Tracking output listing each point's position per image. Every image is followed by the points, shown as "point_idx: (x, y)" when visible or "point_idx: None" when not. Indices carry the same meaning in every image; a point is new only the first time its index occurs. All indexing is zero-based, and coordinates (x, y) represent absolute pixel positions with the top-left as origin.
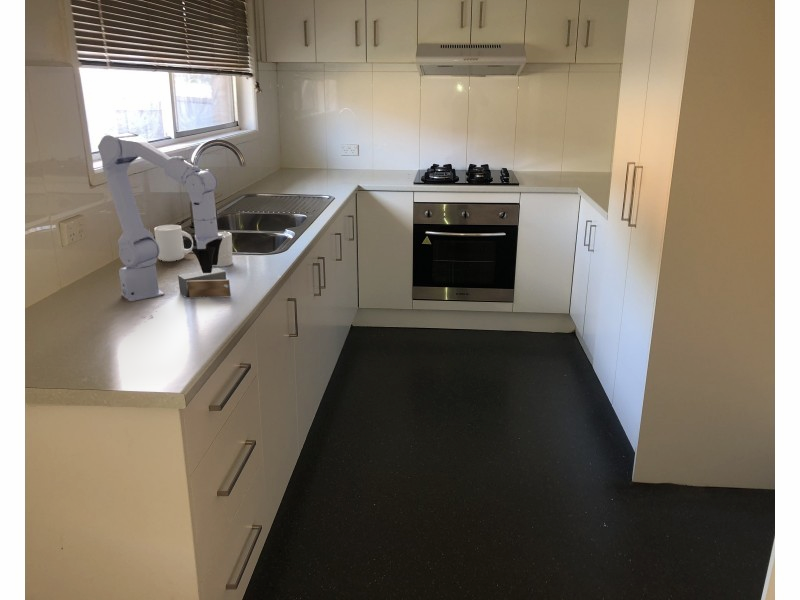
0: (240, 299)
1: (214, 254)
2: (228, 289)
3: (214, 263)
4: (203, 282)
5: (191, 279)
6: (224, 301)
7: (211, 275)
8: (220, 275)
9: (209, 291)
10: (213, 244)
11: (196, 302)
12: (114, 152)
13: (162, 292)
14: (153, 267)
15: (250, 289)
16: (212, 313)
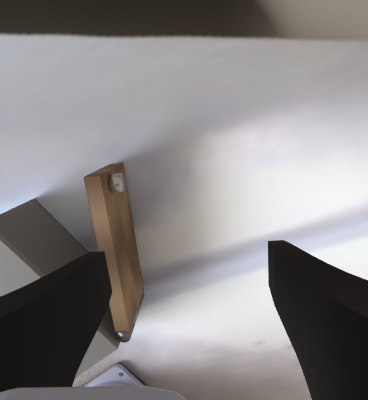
0: (139, 117)
1: (70, 303)
2: (115, 171)
3: (101, 268)
4: (121, 275)
5: (100, 325)
6: (164, 171)
7: (37, 267)
8: (12, 235)
9: (128, 239)
10: (13, 382)
11: (178, 259)
12: None
13: (110, 372)
14: None
15: (19, 109)
16: (292, 178)
